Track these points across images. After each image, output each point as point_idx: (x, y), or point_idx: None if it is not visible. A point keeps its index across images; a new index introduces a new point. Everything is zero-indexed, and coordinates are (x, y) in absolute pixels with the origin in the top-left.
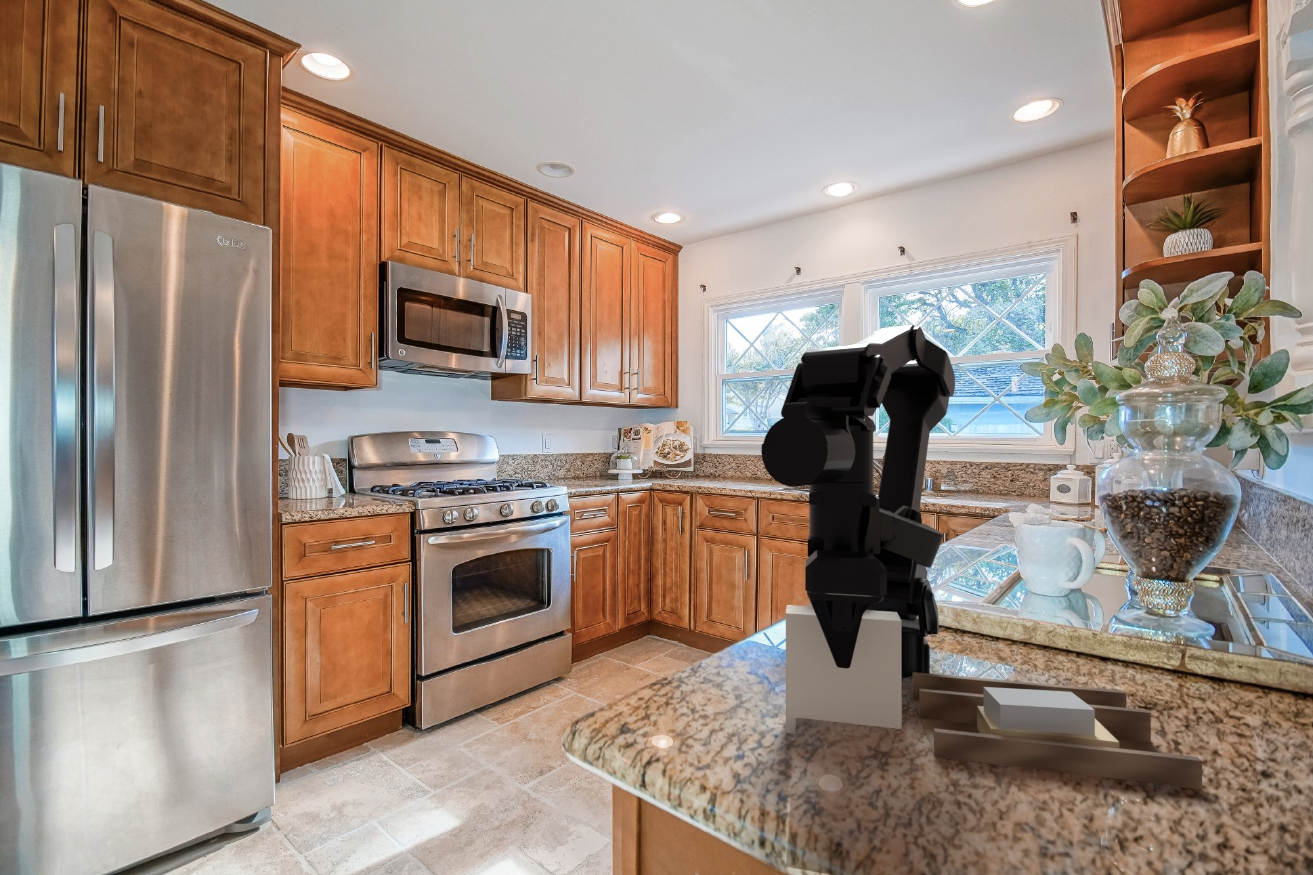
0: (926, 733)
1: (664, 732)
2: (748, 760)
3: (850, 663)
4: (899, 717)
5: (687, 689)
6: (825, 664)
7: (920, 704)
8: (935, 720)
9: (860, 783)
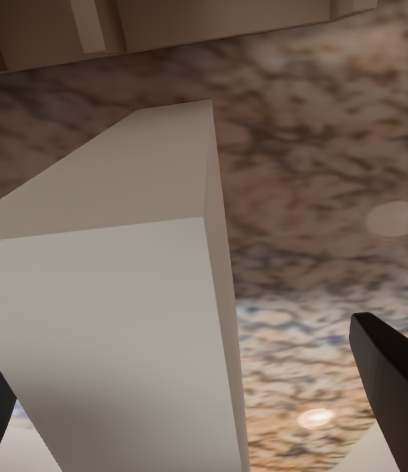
0: (218, 36)
1: (290, 421)
2: (345, 329)
3: (380, 321)
4: (211, 112)
5: None
6: (236, 346)
7: (115, 51)
8: (121, 6)
9: (389, 173)
